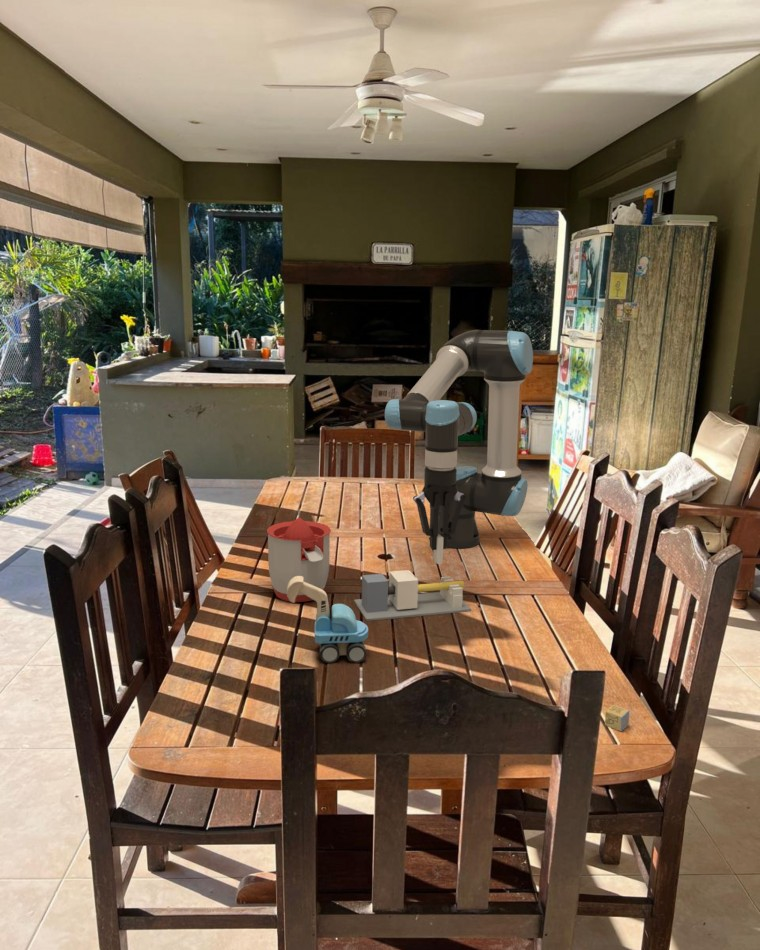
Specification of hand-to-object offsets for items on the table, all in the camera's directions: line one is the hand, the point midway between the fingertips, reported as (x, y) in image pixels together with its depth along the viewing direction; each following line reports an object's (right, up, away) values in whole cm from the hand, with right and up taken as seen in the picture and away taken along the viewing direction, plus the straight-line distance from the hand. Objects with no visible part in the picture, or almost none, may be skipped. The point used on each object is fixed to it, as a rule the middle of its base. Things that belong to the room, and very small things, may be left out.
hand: (437, 561), depth 183 cm
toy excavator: (-25, -17, -25) cm, 39 cm away
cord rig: (-6, -11, 0) cm, 13 cm away
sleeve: (-9, -10, -1) cm, 13 cm away
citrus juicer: (-34, -9, +6) cm, 35 cm away
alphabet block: (+28, -23, -50) cm, 62 cm away
